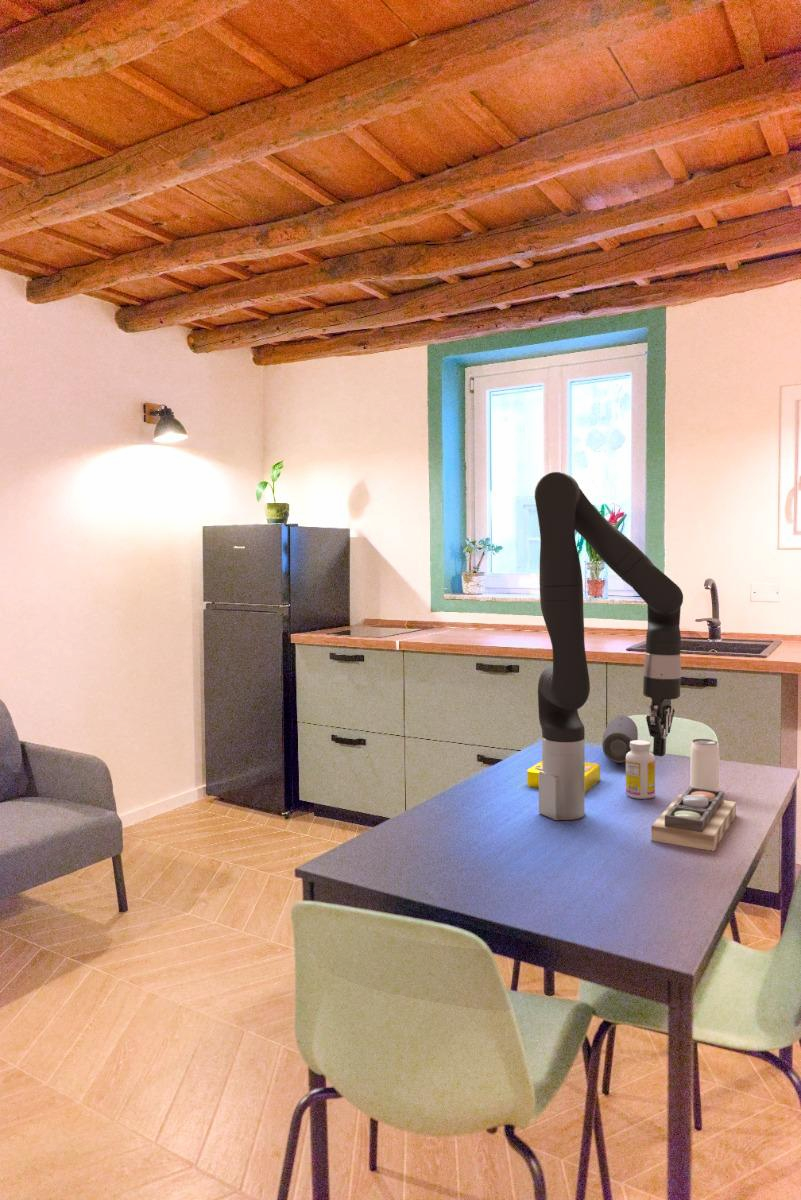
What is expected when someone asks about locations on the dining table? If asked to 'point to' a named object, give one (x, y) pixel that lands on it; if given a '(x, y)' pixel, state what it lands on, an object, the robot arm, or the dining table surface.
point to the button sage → (687, 814)
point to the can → (704, 764)
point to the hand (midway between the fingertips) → (659, 755)
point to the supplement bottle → (640, 770)
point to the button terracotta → (704, 794)
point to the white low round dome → (695, 801)
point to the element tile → (590, 775)
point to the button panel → (695, 822)
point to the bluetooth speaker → (619, 738)
